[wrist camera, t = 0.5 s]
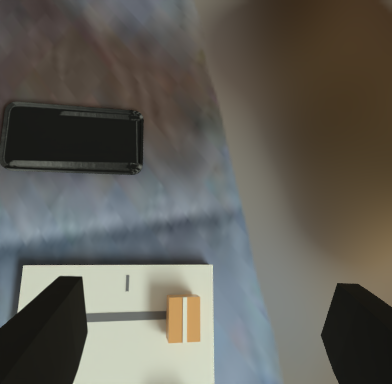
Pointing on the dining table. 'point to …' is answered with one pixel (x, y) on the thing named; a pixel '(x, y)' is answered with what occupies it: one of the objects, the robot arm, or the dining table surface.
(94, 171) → the phone
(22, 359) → the robot arm
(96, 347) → the board
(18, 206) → the dining table surface
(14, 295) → the dining table surface
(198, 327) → the fader orange
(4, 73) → the dining table surface
